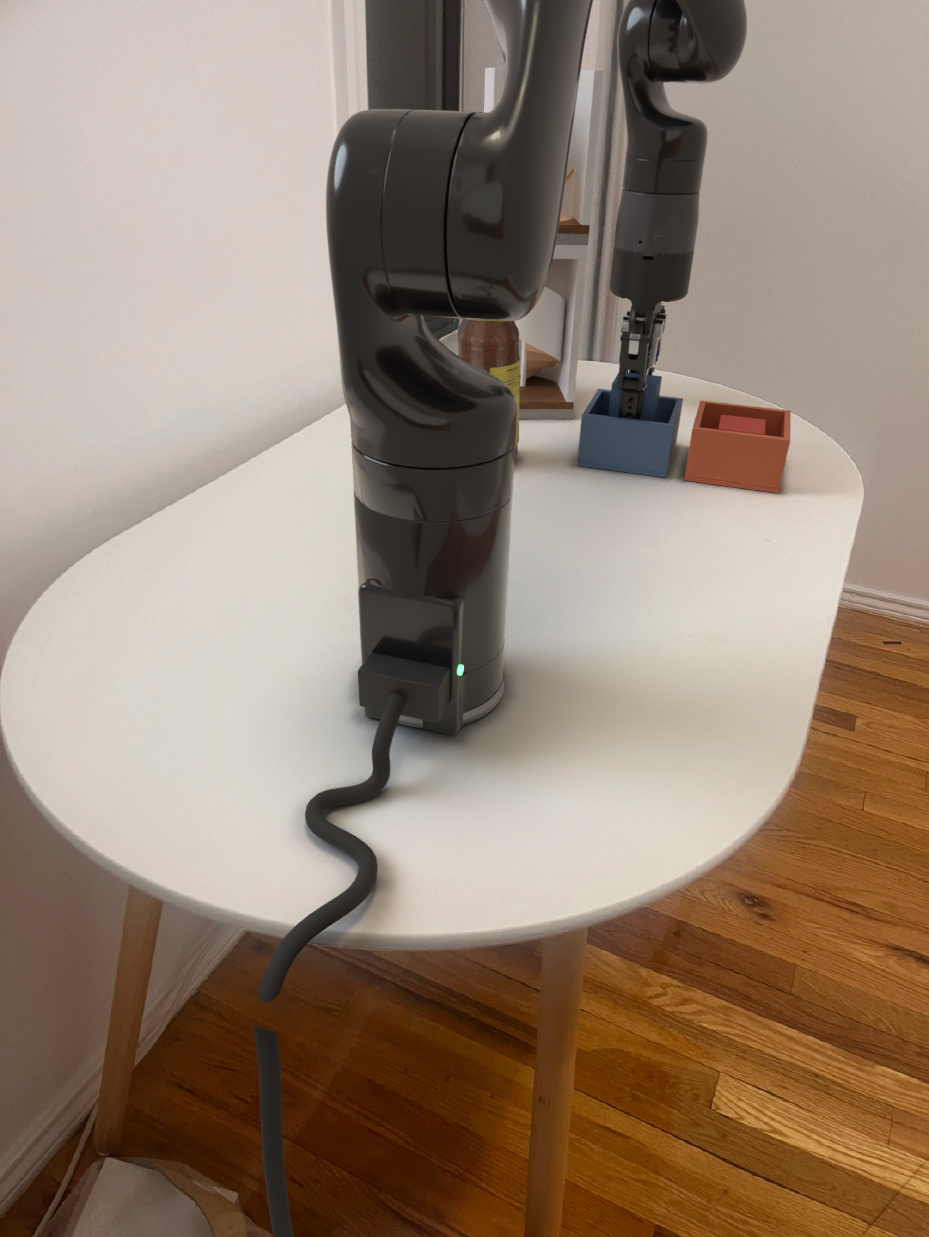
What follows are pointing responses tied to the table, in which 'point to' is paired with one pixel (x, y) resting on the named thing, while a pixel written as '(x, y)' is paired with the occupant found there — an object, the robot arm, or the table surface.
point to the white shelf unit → (559, 267)
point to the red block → (742, 424)
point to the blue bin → (629, 438)
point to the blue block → (648, 401)
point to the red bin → (738, 448)
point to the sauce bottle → (493, 353)
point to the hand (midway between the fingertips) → (632, 417)
